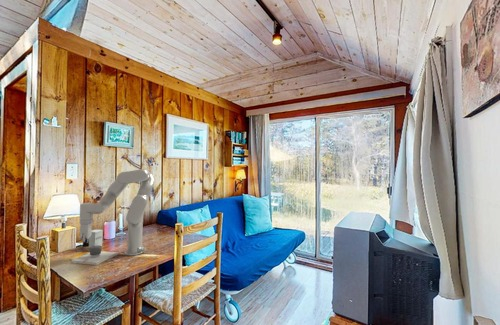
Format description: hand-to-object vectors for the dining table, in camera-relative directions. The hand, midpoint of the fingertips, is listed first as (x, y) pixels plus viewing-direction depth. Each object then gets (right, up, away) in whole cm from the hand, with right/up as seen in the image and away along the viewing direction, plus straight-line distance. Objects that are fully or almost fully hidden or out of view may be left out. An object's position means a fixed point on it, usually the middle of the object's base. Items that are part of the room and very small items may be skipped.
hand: (85, 248), depth 158 cm
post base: (+8, -6, -2) cm, 10 cm away
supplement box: (-7, -6, +19) cm, 21 cm away
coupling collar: (+4, -2, -3) cm, 5 cm away
